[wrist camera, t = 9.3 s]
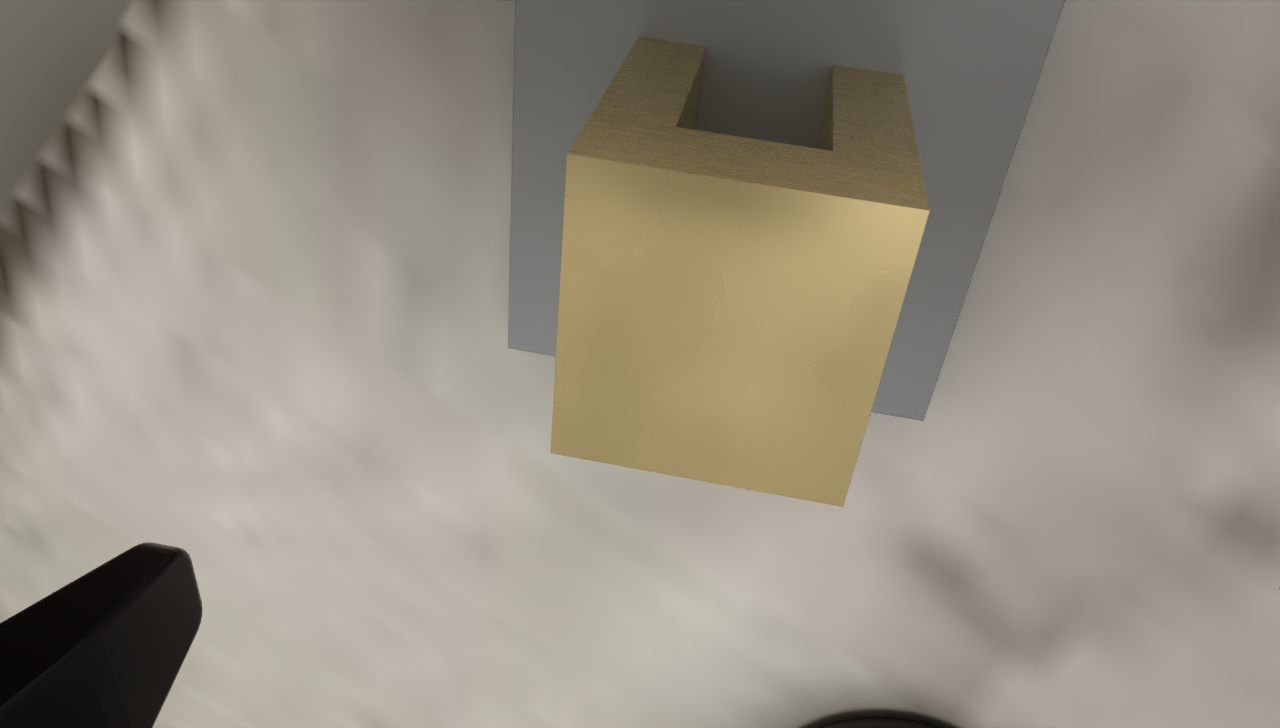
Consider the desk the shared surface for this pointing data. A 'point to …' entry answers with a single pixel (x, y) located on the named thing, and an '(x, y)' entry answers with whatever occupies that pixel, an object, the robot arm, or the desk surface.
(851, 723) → the supplement bottle
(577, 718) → the desk surface
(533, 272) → the slate mat
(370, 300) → the desk surface
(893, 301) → the slotted brass block
